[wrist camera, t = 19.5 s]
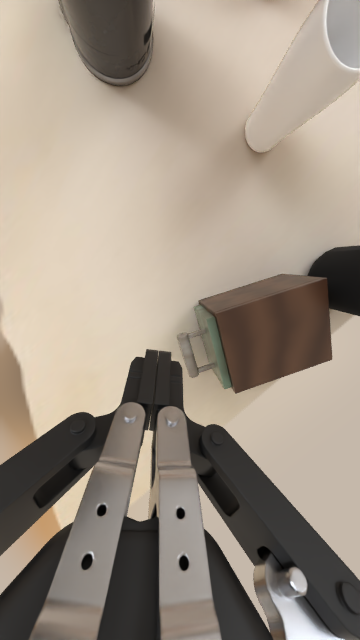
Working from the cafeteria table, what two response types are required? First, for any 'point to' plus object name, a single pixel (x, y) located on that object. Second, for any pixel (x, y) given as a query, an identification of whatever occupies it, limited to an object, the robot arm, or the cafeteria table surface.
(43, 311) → the cafeteria table surface
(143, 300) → the cafeteria table surface
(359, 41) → the white cup
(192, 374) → the drawer
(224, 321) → the cabinet
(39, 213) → the cafeteria table surface
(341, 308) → the coffee jar
